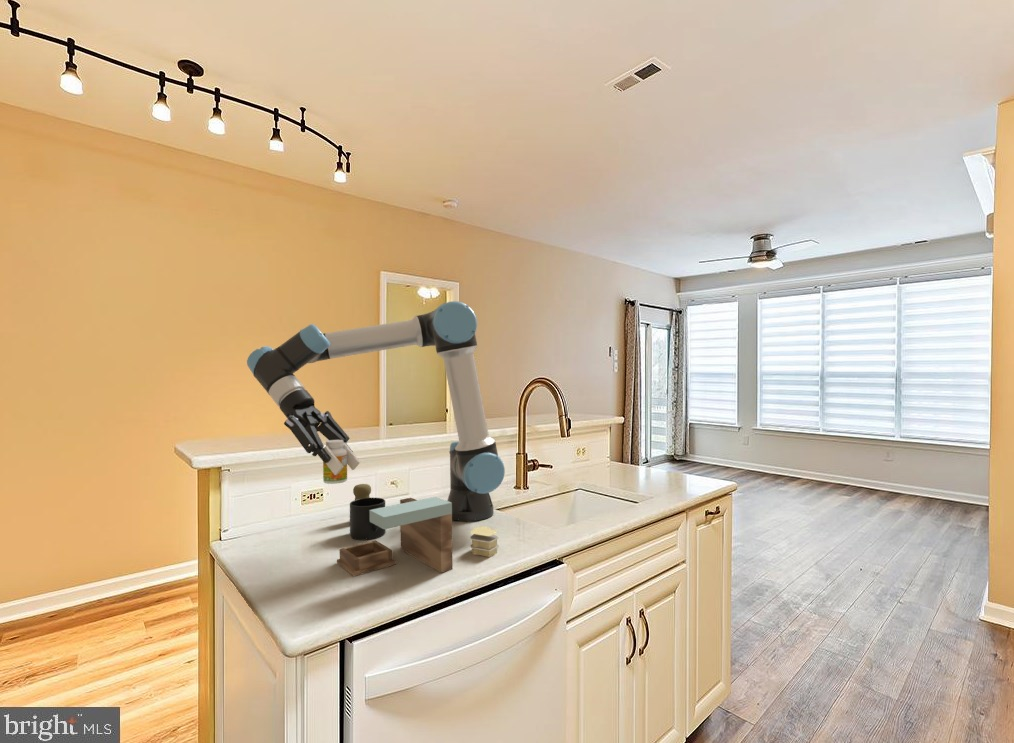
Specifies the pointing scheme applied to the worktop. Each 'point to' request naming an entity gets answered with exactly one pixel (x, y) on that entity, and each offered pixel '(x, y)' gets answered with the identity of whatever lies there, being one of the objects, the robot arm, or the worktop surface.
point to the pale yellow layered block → (484, 541)
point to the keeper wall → (429, 540)
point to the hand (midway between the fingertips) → (348, 468)
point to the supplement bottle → (341, 455)
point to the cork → (362, 491)
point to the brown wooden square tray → (365, 557)
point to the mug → (365, 519)
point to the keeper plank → (410, 512)
